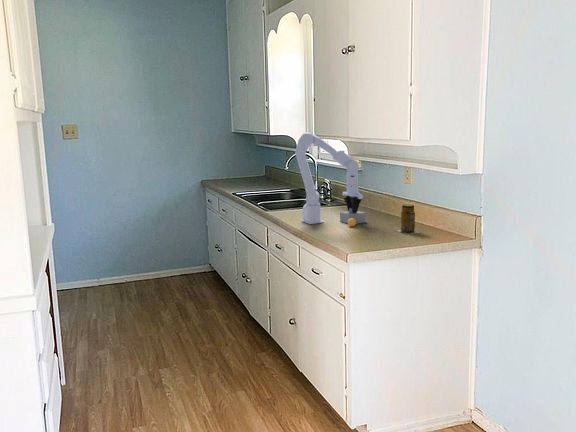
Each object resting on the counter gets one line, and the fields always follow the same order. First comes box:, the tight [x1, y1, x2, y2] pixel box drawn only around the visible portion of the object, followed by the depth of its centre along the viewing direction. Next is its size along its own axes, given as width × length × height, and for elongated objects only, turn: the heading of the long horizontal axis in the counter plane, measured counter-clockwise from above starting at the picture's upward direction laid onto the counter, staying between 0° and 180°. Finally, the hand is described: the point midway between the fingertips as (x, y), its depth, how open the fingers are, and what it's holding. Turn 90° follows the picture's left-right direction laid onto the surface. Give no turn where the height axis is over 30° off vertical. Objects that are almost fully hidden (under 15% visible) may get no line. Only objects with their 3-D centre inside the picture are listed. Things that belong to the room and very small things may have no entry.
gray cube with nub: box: [339, 208, 367, 225], centre depth 279 cm, size 9×9×7 cm
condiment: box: [397, 203, 421, 235], centre depth 252 cm, size 7×8×12 cm
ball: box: [347, 218, 357, 228], centre depth 268 cm, size 4×4×4 cm
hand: (352, 211), depth 279 cm, fingers open, 3 cm apart
